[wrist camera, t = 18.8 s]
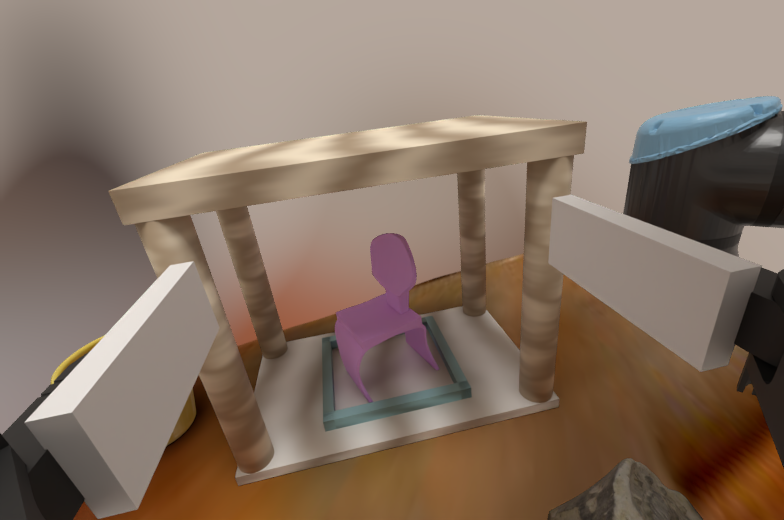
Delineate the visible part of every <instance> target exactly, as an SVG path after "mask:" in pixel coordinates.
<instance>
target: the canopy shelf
mask: <svg viewBox="0 0 784 520" xmlns="http://www.w3.org/2000/svg"><path fill="white" fill-rule="evenodd" d="M586 127H587V122H582V121H565V120H548V119H531V118H515V117H498V116H482V115H481V116H480V115H475V116H468V117H461V118H453V119H447V120H439V121H432V122H424V123H417V124H409V125H403V126H395V127H388V128H381V129H374V130H366V131H358V132H351V133H344V134H336V135H329V136H322V137H314V138H307V139H300V140H293V141H285V142H278V143H271V144H263V145H256V146H249V147H242V148H234V149H227V150H220V151H213V152H205V153H201V154H199V155H196V156H194V157H192V158H189V159H186V160H184V161H181V162H179V163H176V164H174V165H171V166H169V167H167V168H164V169H162V170H159V171H157V172H154V173H152V174H149V175H147V176H144V177H142V178H139V179H137V180H134V181H132V182H129V183H127V184H124V185H122V186H120V187H117V188H115V189H112V190H110V191H109V194H110V196H111V198H112V201H113V203H114V205H115V208H116V210H117V212H118V214H119V216H120V219H121V221H122V223H123V225H128V224H135V226H136V229H137V231H138V234H139V236H140V238H141V240H142V243H143V245H144V247H145V250H146V252H147V254H148V257H149V259H150V261H151V264H152V266H153V269H154V271H155V273H156V276H157V278H159V277H160V276H161V275H162V274H163V272H164V271H165V270H166V269H167V268H168V267H169V266H170V265H175V264H180V263H186V262H192V261H194V263H195V266H196V268H197V271H198V274H199V276H200V279H201V281H202V284H203V286H204V289H205V291H206V294H207V297H208V299H209V302H210V304H211V307H212V309H213V312H214V315H215V317H216V320H217V322H218V325H219V327H220V328H219V330H218V333H217V335H216V337H215V339H214V342H213V344H212V346H211V348H210V350H209V353H208V355H207V357H206V359H205V361H204V364H203V366H202V368H201V370H200V372H199V376H200V378H201V381H202V383H203V385H204V388H205V390H206V392H207V395H208V397H209V399H210V402H211V404H212V406H213V409H214V411H215V413H216V416H217V418H218V420H219V423H220V425H221V427H222V430H223V432H224V434H225V437H226V439H227V441H228V444H229V446H230V448H231V451H232V453H233V455H234V458H235V460H236V462H237V465H238V467H237V471H236V476H235V479H236V481H237V483H238V486H239V485H243V484H248V483H252V482H256V481H260V480H264V479H268V478H272V477H276V476H280V475H284V474H288V473H292V472H296V471H300V470H304V469H308V468H312V467H317V466H321V465H325V464H329V463H333V462H337V461H341V460H345V459H349V458H353V457H357V456H361V455H365V454H369V453H373V452H377V451H381V450H385V449H390V448H394V447H398V446H402V445H406V444H410V443H414V442H418V441H422V440H426V439H430V438H434V437H438V436H442V435H446V434H450V433H454V432H458V431H463V430H467V429H471V428H475V427H479V426H483V425H487V424H491V423H495V422H499V421H503V420H507V419H511V418H515V417H519V416H523V415H527V414H531V413H536V412H540V411H544V410H548V409H552V408H556V407H559V398H558V396H557V395H556V394H555V393H554V392H553V385H554V374H555V362H556V351H557V340H558V328H559V317H560V306H561V295H562V283H563V273H561V272H560V271H559V270H557V269H556V268H554V267H553V266H552V265H550V264H549V263H548V260H549V245H550V229H551V214H552V199H553V198H555V197H560V196H566V195H570V192H571V182H572V170H573V159H574V155H577V154H583V153H584V147H585V136H586ZM526 162H527V185H526V213H525V238H524V263H523V290H522V317H521V343H520V350H519V349H518V348H517V346H516V345H515V344H514V343H513V342H512V340H511V339H510V338H509V337H508V335H507V334H506V333H505V332H504V331H503V329H502V328H501V327H500V326H499V324H498V323H497V322H496V321H495V320H494V318H493V317H492V316H491V315H490V314H489V312H488V311H487V310H486V260H485V259H486V258H485V256H486V255H485V169H487V168H494V167H500V166H506V165H513V164H519V163H526ZM454 173H457V178H458V203H459V227H460V249H461V250H460V252H461V277H462V301H463V306H461V307H456V308H451V309H446V310H441V311H436V312H432V313H427V314H422V315H420V316H421V318H422V324H423V325H424V326H425V327H426V338H427V344H428V347H429V349H430V352H431V354H432V356H433V358H434V360H435V362H436V363H437V365H438V367H439V370H436V369H434V368H433V367H432V366H431V365H430V364H429V363H428V362H427V361H426V360H425V359H424V358H423V357H422V356H420V355H419V354H418V353H417V352H416V351H415V350H414V349H413V348H412V347H411V346H410V345H409V344H408V343H407V342H406V337H405V332H403V333H401V334H398V335H395V336H393V337H391V338H389V339H387V340H385V341H383V342H382V343H380V344H378V345H376V346H374V347H372V348H370V349H369V350H368V351H367V352H366V353H365V354H364V356H363V358H362V361H361V364H360V369H359V373H360V378H361V380H362V383H363V385H364V387H365V389H366V391H367V392H368V394H369V396H370V398H371V399H372V401H373V402H371V403H369V402H368V401H367V399H366V398H365V396H364V395H363V393H362V392H361V391H360V389H359V388H358V386H357V385H356V384H355V382H354V381H353V379H352V378H351V376H350V375H349V374H348V372H347V371H346V369H345V366H344V364H343V361H342V359H341V355H340V352H339V348H338V344H337V340H336V334H335V332H333V333H328V334H323V335H318V336H313V337H308V338H303V339H299V340H294V341H289V342H286V340H285V337H284V333H283V330H282V326H281V323H280V319H279V316H278V313H277V309H276V305H275V302H274V298H273V295H272V291H271V288H270V285H269V281H268V278H267V274H266V271H265V267H264V264H263V260H262V257H261V253H260V250H259V246H258V243H257V239H256V236H255V232H254V229H253V225H252V222H251V219H250V215H249V212H248V208H247V206H250V205H256V204H263V203H269V202H276V201H282V200H288V199H295V198H301V197H307V196H314V195H320V194H327V193H333V192H339V191H346V190H353V189H359V188H365V187H372V186H378V185H385V184H391V183H397V182H404V181H410V180H417V179H423V178H429V177H436V176H442V175H449V174H454ZM211 211H216V213H217V216H218V219H219V222H220V225H221V228H222V231H223V234H224V237H225V240H226V243H227V246H228V250H229V253H230V256H231V259H232V262H233V265H234V268H235V271H236V274H237V277H238V280H239V283H240V286H241V290H242V292H243V296H244V299H245V301H246V305H247V308H248V311H249V314H250V317H251V320H252V323H253V326H254V329H255V332H256V336H257V339H258V342H259V345H260V348H261V351H262V354H263V356H262V361H261V365H260V369H259V374H258V378H257V383H256V387H255V391H254V392H253V389H252V386H251V384H250V381H249V378H248V375H247V372H246V370H245V367H244V364H243V361H242V358H241V356H240V353H239V350H238V347H237V344H236V342H235V339H234V336H233V333H232V331H231V328H230V325H229V322H228V319H227V317H226V314H225V311H224V308H223V305H222V303H221V300H220V297H219V294H218V291H217V289H216V286H215V283H214V280H213V278H212V275H211V272H210V269H209V266H208V264H207V261H206V258H205V255H204V252H203V250H202V247H201V244H200V241H199V239H198V236H197V233H196V230H195V227H194V225H193V222H192V219H191V216H190V215H193V214H199V213H205V212H211Z"/></svg>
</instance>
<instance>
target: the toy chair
mask: <svg viewBox="0 0 784 520" xmlns="http://www.w3.org/2000/svg"><path fill="white" fill-rule="evenodd" d="M370 250H371V251H370V252H371V263H372V274H373V276H374V277H375V278H376V279H377V281H378V282H379V283H380V284H381V285H382V286H383V287H384V288H385V290H386V293H385V294H383V295H380V296H378V297H376V298H373V299H371V300H369V301H367V302H364V303H362V304H359V305H356V306H352V307H349V308H346V309H343V310H341V311H339V312H336V315H337V319H338V320H337V321H336V323H335V334H336V340H337V344H338V348H339V352H340V355H341V359H342V361H343V364H344V366H345V369H346V371H347V372H348V374H349V375H350V376H351V378H352V379H353V381H354V382H355V384H356V385H357V386H358V388H359V389H360V391H361V392H362V393H363V395H364V396H365V398H366V399H367V401H368V402H369V403H371V402H373V401H372V399H371V398H370V396H369V394H368V392H367V391H366V389H365V387H364V385H363V383H362V380H361V378H360V373H359V369H360V364H361V361H362V358H363V356H364V354H365V353H366V352H367V351H368V350H369V349H370V348H372V347H374V346H376V345H378V344H380V343H382V342H383V341H385V340H387V339H389V338H391V337H393V336H395V335H398V334H401V333H403V332H405V337H406V342H407V343H408V344H409V345H410V346H411V347H412V348H413V349H414V350H415V351H416V352H417V353H418V354H419V355H420V356H422V357H423V358H424V359H425V360H426V361H427V362H428V363H429V364H430V365H431V366H432V367H433V368H434V369H436V370H439V367H438V365H437V363H436V362H435V360H434V358H433V356H432V354H431V352H430V349H429V347H428V344H427V338H426V327H425V326H424V325H423V324H422V318H421V316H420V315H418V314H417V313H416V312H414V311H413V310H411V309H410V308H409V290H411V289H412V288H413V287H414V285H415V283H416V277H417V275H416V267H415V263H414V259H413V256H412V253H411V250H410V248H409V245H408V243H407V241H406V239H405V238H404V237H403V236H401V235H399V234H394V233H386V234H382V235H379V236H377V237H376V238H374V239H373V240H372V243H371V247H370Z"/></svg>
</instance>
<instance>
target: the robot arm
mask: <svg viewBox="0 0 784 520" xmlns="http://www.w3.org/2000/svg"><path fill="white" fill-rule="evenodd" d="M781 109H782V104H781V102H780V99H779V98H778V97H774V96H765V97H755V98H747V99H737V100H730V101H723V102H717V103H711V104H705V105H699V106H694V107H690V108H684V109H680V110H675V111H671V112H667V113H664V114H660V115H657V116H654V117H652V118H650V119H648V120H647V121H645V122H644V123H643V124H642V125H641V127H640V128H639V130H638V132H637V135H636V140H635V144H634V149H633V154H632V156H631V157H630V160H629V162H630V163H631V169H630V176H629V182H628V189H627V194H626V201H625V207H624V213H623V214H622V213H619V212H617V211H614V210H611V209H608V208H606V207H603V206H600V205H598V204H595V203H592V202H590V201H587V200H584V199H581V198H579V197H576V196H574V195H566V196H560V197H555V198H553V199H552V214H551V229H550V245H549V260H548V263H549V264H550V265H552V266H553V267H554V268H556V269H557V270H559V271H560V272H561V273H563V274H564V275H566V276H567V277H568V278H570V279H571V280H573V281H574V282H575V283H577V284H578V285H580V286H581V287H582V288H584V289H585V290H587V291H588V292H589V293H591V294H592V295H594V296H595V297H596V298H598V299H599V300H601V301H602V302H603V303H605V304H606V305H608V306H609V307H610V308H612V309H613V310H615V311H616V312H617V313H619V314H620V315H622V316H623V317H624V318H626V319H627V320H629V321H630V322H631V323H633V324H634V325H636V326H637V327H638V328H640V329H641V330H643V331H644V332H645V333H647V334H648V335H650V336H651V337H652V338H654V339H655V340H657V341H658V342H659V343H661V344H662V345H664V346H665V347H666V348H668V349H669V350H671V351H672V352H674V353H675V354H676V355H678V356H679V357H681V358H682V359H683V360H685V361H686V362H688V363H689V364H690V365H692V366H693V367H695V368H696V369H697V370H699V371H700V372H702V371H706V370H710V369H714V368H718V367H722V366H727V365H728V363H729V361H730V358H731V355H732V352H733V349H734V346H735V344H736V345H738V346H739V347H741V348H743V349H744V350H746V351H748V352H749V355H748V357H747V360H746V363H745V366H744V368H743V371H742V374H741V376H740V379H739V382H738V385H737V391H739V392H743V391H744V389H745V386H747V385H749V384H752V385H753V388H754V389H753V391H752V395H756V396H757V398H758V401H759V404H760V406H761V409H762V412H763V414H764V417H765V420H766V422H767V425H768V428H769V430H770V433H771V436H772V438H773V441H774V444H775V446H776V449H777V452H778V454H779V457H780V459H781V462H782V465H783V467H784V269H783V270H781V271H780V272H778V274H777V273H774V272H772V271H769V270H767V269H764V268H761V267H762V266H761V265H758V264H756V263H753V262H750V261H747V260H745V259H742V258H740V257H739V255H738V243H739V240H740V237H741V234H742V230H743V228H744V226H762V227H775V228H776V227H777V228H784V111H781ZM219 328H220V327H219V325H218V322H217V320H216V317H215V315H214V312H213V309H212V307H211V304H210V302H209V299H208V297H207V294H206V291H205V289H204V286H203V284H202V281H201V279H200V276H199V274H198V271H197V268H196V266H195V263H194V261H192V262H186V263H180V264H175V265H170V266H169V267H168V268H167V269H166V270H165V271H164V272H163V274H162V275H161V276H160V277H159V278H158V279H157V280H156V281H155V282H154V283H153V284H152V285H151V287H150V288H149V289H148V290H147V291H146V292H145V293H144V294H143V295H142V296H141V297H140V298H139V299H138V301H137V302H136V303H135V304H134V305H133V306H132V307H131V308H130V309H129V310H128V311H127V312H126V313H125V315H124V316H123V317H122V318H121V319H120V320H119V321H118V322H117V323H116V324H115V325H114V326H113V327H112V328H111V330H110V331H109V332H108V333H107V334H106V335H105V336H104V337H103V338H102V339H101V340H100V341H99V342H98V344H97V345H96V346H95V347H94V348H93V349H92V350H91V351H89V352H87V353H86V354H84V355H83V356H82V357H80V358H79V359H77V360H76V361H75V362H73V363H72V364H70V365H69V366H68V367H67V368H66V369H65V370H64V371H63V372H62V373H61V374H60V375H59V376H58V377H57V378H56V379H55V380H54V384H50V385H49V387H48V388H47V389H46V390H45V391H44V392H43V393H42V394H41V397H39V398H37V399H36V400H35V401H34V402H33V403H32V404H31V405H30V406H29V407H28V408H27V410H25V412H24V413H23V414H22V415H21V416H20V417H19V418H18V419H17V420H16V421H15V422H14V423H13V424H12V425H11V426H10V427H9V428H8V430H6V431H5V432H4V433H3V434H2V435H1V434H0V520H73V518H74V517H75V515H76V513H77V512H78V510H79V508H80V507H81V505H82V503H83V502H84V501H85V503H86V504H87V505H88V507H89V508H90V509H91V511H92V512H93V513H94V515H95V516H96V517H97V518H98V519H100V518H104V517H108V516H112V515H116V514H120V513H124V512H129V511H133V510H137V509H138V507H139V505H140V503H141V500H142V498H143V496H144V494H145V492H146V489H147V487H148V485H149V483H150V481H151V478H152V476H153V474H154V472H155V470H156V467H157V465H158V463H159V461H160V459H161V456H162V454H163V452H164V450H165V447H166V445H167V443H168V441H169V439H170V436H171V434H172V432H173V430H174V428H175V425H176V423H177V421H178V419H179V417H180V414H181V412H182V410H183V408H184V406H185V403H186V401H187V399H188V397H189V394H190V392H191V390H192V388H193V386H194V383H195V381H196V379H197V377H198V375H199V372H200V370H201V368H202V366H203V364H204V361H205V359H206V357H207V355H208V353H209V350H210V348H211V346H212V344H213V342H214V339H215V337H216V335H217V333H218V330H219Z"/></svg>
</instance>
